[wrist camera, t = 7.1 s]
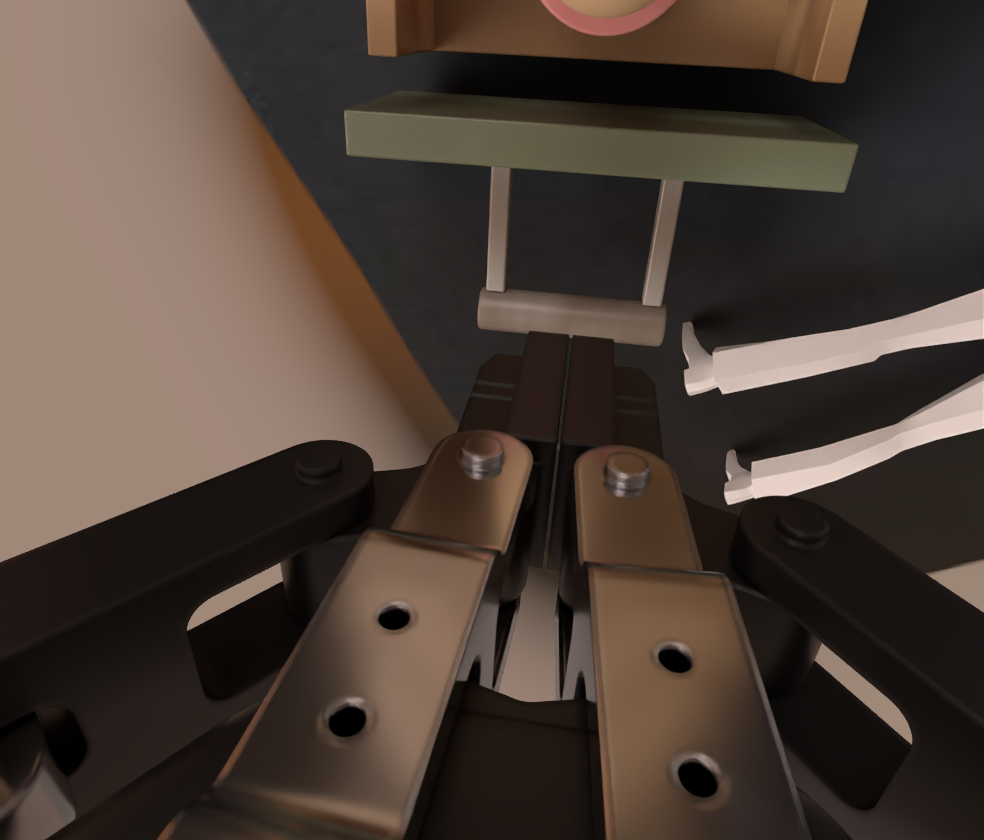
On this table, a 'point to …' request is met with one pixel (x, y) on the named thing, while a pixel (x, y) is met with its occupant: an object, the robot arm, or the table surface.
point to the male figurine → (831, 351)
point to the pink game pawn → (607, 14)
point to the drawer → (609, 126)
